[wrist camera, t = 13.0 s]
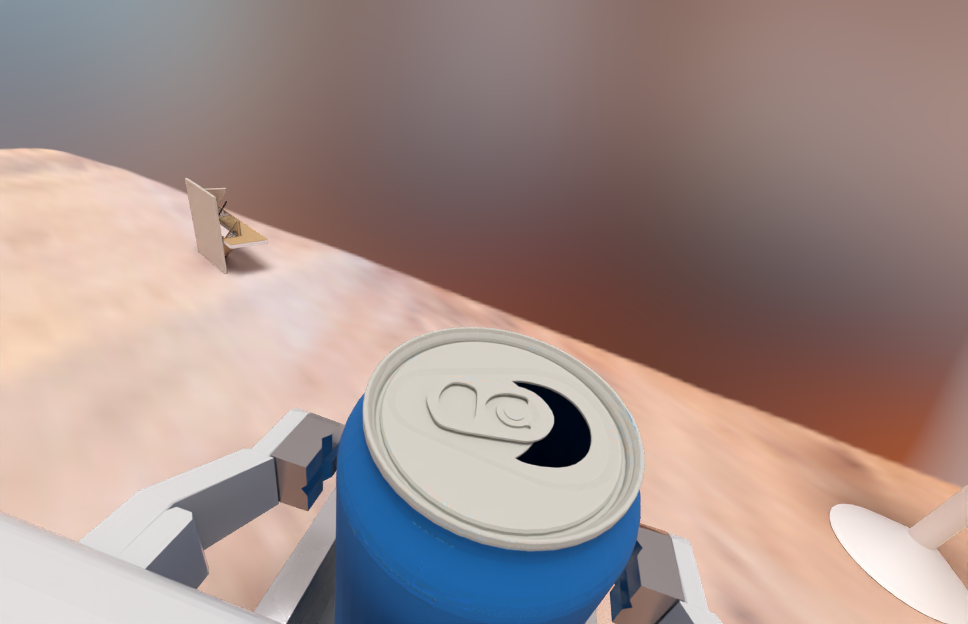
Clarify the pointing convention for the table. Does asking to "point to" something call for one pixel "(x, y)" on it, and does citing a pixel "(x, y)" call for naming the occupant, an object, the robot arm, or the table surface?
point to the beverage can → (484, 485)
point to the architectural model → (217, 226)
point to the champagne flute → (909, 555)
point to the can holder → (311, 577)
